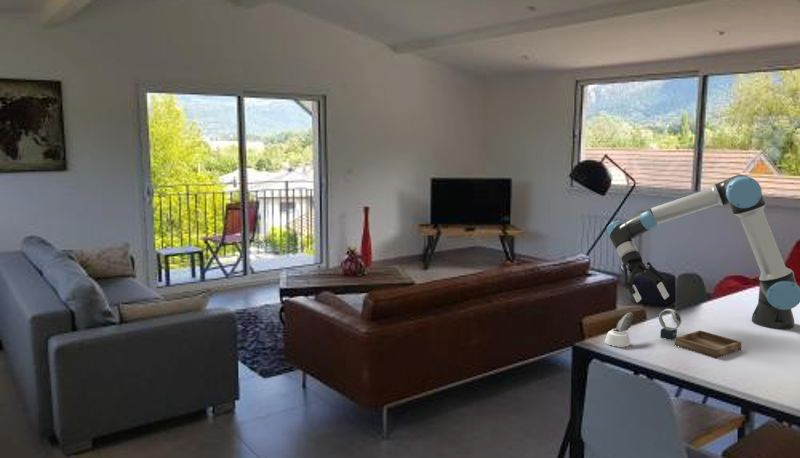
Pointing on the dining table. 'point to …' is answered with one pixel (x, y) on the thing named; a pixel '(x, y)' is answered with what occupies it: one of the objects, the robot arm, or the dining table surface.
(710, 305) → the dining table surface
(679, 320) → the watch
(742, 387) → the dining table surface
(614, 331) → the inkwell
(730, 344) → the walnut tray
